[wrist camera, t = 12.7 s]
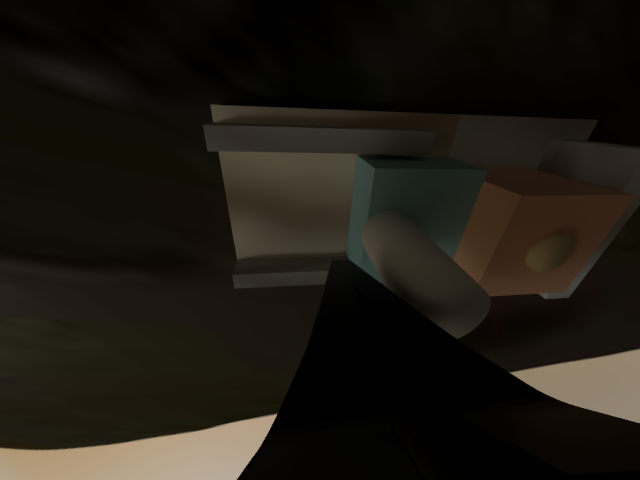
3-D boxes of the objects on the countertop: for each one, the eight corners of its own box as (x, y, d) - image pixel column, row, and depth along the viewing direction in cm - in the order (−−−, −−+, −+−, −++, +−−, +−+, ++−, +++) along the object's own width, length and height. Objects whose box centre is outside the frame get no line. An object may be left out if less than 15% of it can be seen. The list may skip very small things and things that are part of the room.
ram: (353, 155, 12) (440, 222, 5) (447, 156, 12) (643, 218, 6) (343, 253, 15) (388, 380, 8) (419, 250, 15) (524, 367, 8)
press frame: (219, 105, 11) (169, 103, 7) (569, 118, 14) (716, 124, 9) (245, 267, 16) (226, 332, 12) (499, 258, 19) (569, 309, 14)
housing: (443, 165, 13) (529, 198, 8) (524, 166, 13) (646, 197, 9) (420, 243, 15) (476, 301, 11) (489, 241, 16) (570, 296, 11)
